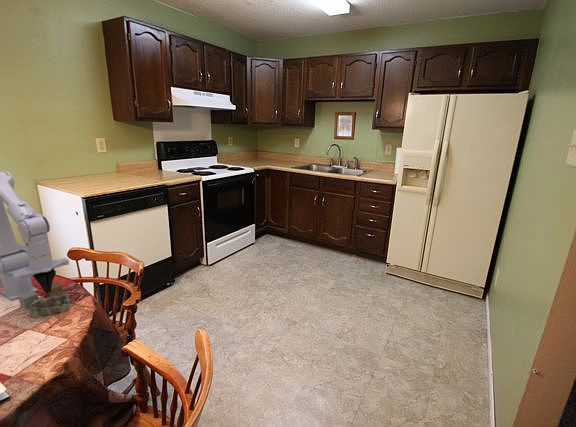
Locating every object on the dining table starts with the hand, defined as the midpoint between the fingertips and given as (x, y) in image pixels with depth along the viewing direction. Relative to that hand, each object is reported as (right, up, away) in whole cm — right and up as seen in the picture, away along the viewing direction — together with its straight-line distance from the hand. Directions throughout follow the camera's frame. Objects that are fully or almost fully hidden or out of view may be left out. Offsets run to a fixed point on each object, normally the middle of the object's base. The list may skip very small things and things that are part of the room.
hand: (47, 291), depth 102 cm
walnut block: (-5, -4, +10) cm, 12 cm away
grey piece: (0, -7, +2) cm, 7 cm away
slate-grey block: (-9, -6, +4) cm, 12 cm away
